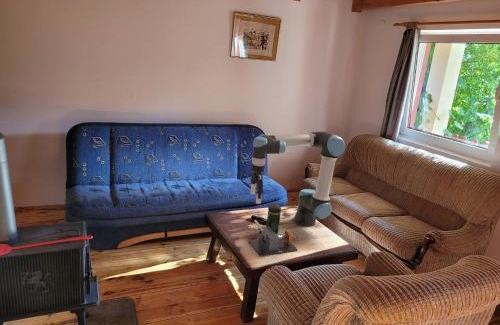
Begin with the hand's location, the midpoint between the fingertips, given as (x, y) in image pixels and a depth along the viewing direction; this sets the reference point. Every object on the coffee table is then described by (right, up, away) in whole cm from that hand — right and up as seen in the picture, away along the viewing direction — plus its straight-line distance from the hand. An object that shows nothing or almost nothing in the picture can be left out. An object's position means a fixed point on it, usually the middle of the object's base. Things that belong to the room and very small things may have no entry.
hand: (255, 198), depth 208 cm
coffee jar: (+11, -23, +20) cm, 33 cm away
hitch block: (+10, -28, +2) cm, 30 cm away
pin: (+14, -26, +3) cm, 29 cm away
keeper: (+2, -16, -6) cm, 17 cm away
